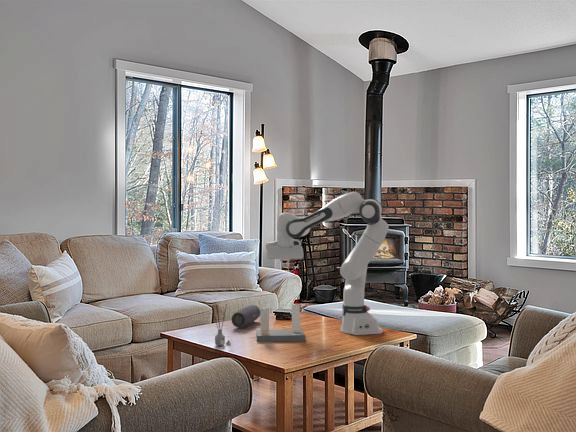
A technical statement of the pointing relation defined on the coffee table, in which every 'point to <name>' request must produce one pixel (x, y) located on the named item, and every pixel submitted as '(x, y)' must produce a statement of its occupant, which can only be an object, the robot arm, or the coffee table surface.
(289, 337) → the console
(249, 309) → the bluetooth speaker
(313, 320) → the coffee table surface
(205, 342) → the coffee table surface
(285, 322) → the coffee table surface
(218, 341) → the reed diffuser
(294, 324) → the lever
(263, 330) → the lever
